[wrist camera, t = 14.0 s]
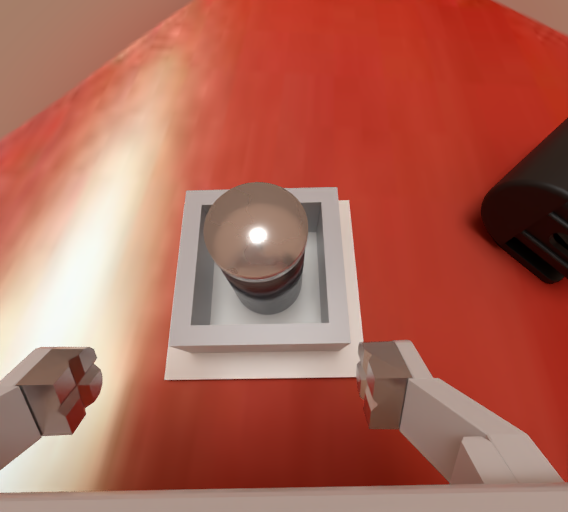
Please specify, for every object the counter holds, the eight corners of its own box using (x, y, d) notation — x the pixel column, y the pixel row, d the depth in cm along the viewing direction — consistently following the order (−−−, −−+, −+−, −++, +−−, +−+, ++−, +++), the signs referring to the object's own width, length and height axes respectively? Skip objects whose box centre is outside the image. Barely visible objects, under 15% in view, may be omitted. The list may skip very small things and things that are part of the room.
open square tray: (167, 380, 20) (133, 378, 15) (186, 208, 24) (164, 170, 20) (364, 377, 20) (385, 375, 15) (347, 204, 24) (359, 165, 20)
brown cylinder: (232, 316, 20) (199, 277, 13) (235, 250, 22) (207, 183, 15) (303, 314, 20) (310, 275, 13) (301, 249, 22) (306, 181, 15)
